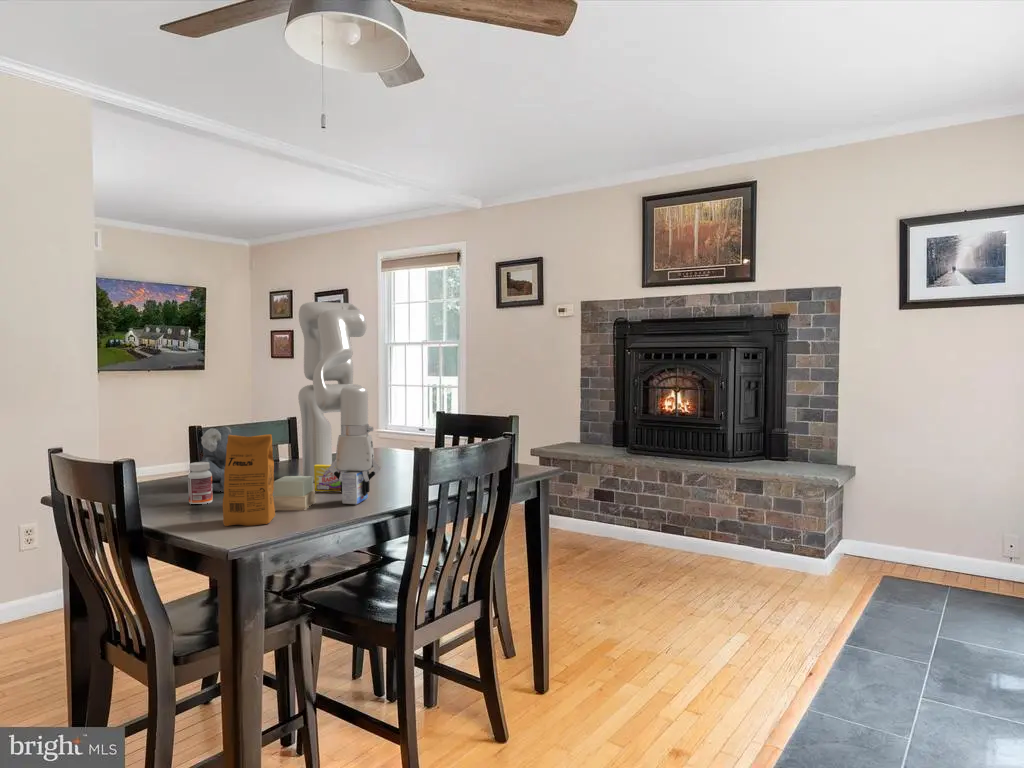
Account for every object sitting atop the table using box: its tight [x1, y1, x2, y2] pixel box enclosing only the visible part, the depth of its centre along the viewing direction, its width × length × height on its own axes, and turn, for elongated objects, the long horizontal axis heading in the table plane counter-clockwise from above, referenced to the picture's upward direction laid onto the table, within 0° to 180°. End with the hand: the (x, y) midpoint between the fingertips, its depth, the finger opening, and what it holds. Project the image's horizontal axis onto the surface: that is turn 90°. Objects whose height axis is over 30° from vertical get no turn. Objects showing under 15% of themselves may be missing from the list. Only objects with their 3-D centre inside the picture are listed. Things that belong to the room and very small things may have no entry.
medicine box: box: [341, 471, 369, 505], centre depth 194 cm, size 8×4×9 cm, turn 169°
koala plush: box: [200, 425, 233, 493], centre depth 216 cm, size 17×18×20 cm
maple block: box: [273, 489, 316, 511], centre depth 189 cm, size 9×9×4 cm
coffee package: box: [222, 434, 276, 527], centre depth 172 cm, size 10×12×22 cm
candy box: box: [314, 465, 348, 491], centre depth 209 cm, size 16×2×8 cm, turn 86°
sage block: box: [273, 475, 314, 496], centre depth 189 cm, size 8×8×4 cm
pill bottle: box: [187, 461, 214, 505], centre depth 194 cm, size 6×6×11 cm
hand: (355, 494), depth 194 cm, fingers closed on medicine box, 5 cm apart
